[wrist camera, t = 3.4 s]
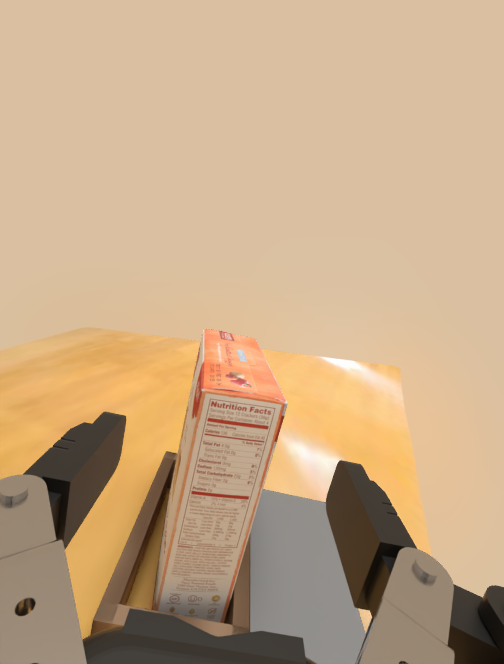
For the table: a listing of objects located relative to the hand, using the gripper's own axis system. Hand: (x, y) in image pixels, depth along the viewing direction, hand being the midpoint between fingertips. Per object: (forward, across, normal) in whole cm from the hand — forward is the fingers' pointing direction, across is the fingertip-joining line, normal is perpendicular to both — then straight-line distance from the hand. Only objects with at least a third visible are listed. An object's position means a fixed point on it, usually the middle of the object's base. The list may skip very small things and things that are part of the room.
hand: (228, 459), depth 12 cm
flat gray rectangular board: (+15, -10, +22) cm, 28 cm away
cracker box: (+15, 0, +22) cm, 26 cm away
